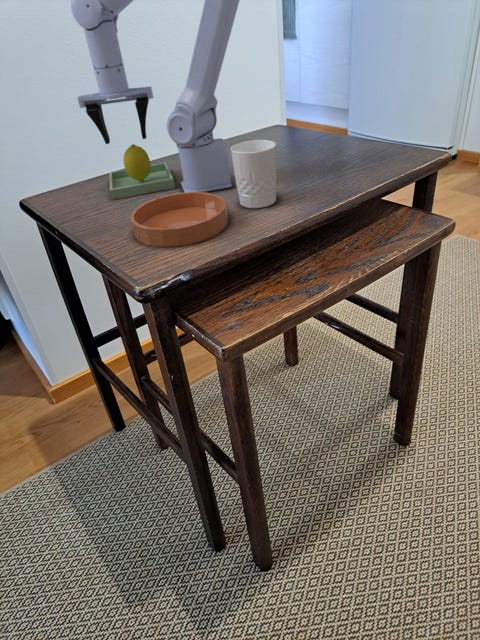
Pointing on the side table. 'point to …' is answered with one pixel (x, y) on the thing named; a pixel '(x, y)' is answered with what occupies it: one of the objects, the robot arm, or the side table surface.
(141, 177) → the lemon
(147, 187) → the tray
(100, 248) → the side table surface
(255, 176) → the white cup
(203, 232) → the pan
